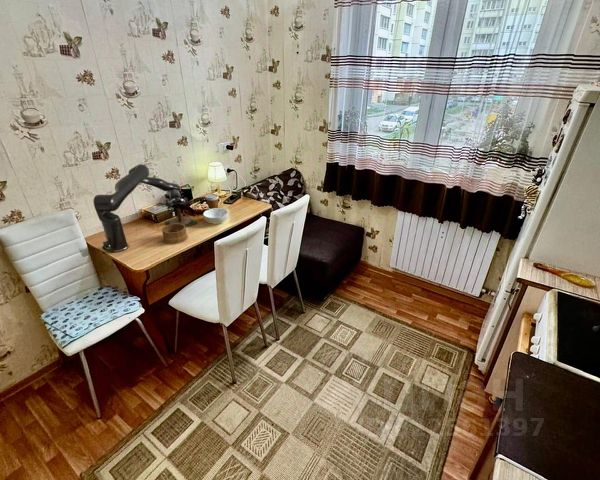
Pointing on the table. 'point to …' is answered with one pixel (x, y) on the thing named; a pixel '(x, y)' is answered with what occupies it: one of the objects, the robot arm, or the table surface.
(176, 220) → the basket lid
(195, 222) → the mat
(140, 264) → the table surface
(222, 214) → the cereal bowl
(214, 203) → the disposable coffee cup
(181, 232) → the basket
